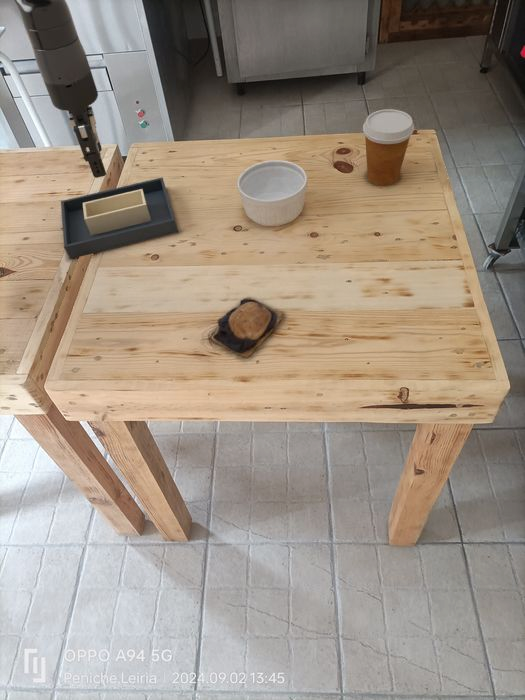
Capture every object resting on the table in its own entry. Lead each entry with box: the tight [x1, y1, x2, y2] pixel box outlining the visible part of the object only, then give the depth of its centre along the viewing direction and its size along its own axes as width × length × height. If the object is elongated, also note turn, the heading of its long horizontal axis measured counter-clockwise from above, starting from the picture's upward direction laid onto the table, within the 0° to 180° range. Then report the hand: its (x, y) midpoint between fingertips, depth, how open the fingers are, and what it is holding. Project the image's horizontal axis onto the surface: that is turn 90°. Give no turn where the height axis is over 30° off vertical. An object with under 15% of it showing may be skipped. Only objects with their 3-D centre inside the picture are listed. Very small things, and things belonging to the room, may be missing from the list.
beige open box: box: [83, 189, 151, 236], centre depth 105 cm, size 12×6×4 cm, turn 106°
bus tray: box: [60, 176, 179, 260], centre depth 106 cm, size 21×15×3 cm
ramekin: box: [236, 159, 308, 227], centre depth 103 cm, size 13×13×7 cm
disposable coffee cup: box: [362, 108, 415, 186], centre depth 104 cm, size 10×10×12 cm
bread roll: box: [210, 297, 283, 359], centre depth 85 cm, size 11×8×4 cm
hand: (98, 163), depth 96 cm, fingers open, 8 cm apart
